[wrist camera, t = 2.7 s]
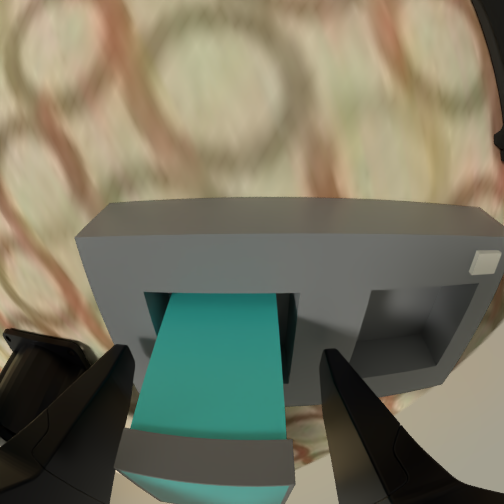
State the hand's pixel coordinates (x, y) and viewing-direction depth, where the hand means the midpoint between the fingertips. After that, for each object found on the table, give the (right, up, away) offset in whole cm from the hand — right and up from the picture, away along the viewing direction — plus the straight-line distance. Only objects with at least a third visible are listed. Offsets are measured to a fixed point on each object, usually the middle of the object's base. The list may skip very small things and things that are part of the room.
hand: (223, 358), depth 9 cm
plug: (0, +1, +2) cm, 2 cm away
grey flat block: (+3, +2, +3) cm, 4 cm away
